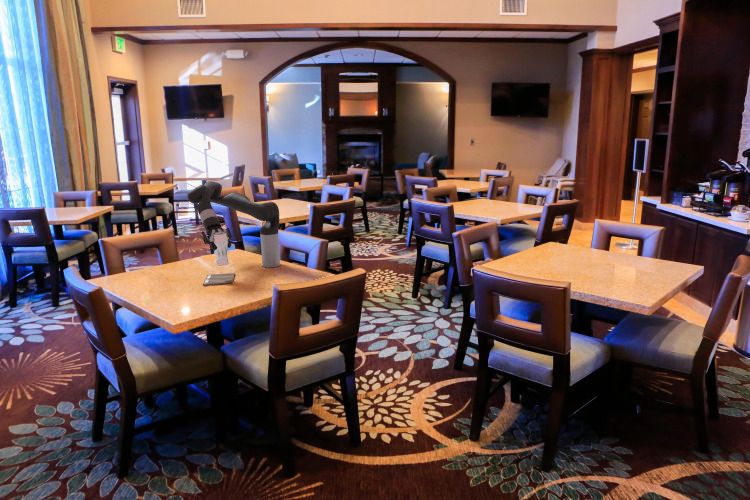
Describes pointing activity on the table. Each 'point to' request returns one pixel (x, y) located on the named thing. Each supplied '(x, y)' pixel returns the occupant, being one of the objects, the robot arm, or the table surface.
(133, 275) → the table surface
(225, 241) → the beer glass
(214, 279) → the board
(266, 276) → the table surface
